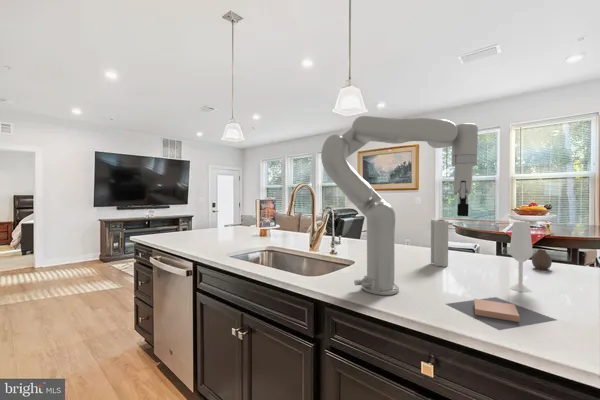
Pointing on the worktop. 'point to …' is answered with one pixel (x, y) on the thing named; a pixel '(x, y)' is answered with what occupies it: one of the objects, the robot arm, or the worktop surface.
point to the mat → (524, 319)
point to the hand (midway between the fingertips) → (462, 215)
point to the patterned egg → (541, 260)
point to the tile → (496, 310)
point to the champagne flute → (521, 250)
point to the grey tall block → (439, 242)
